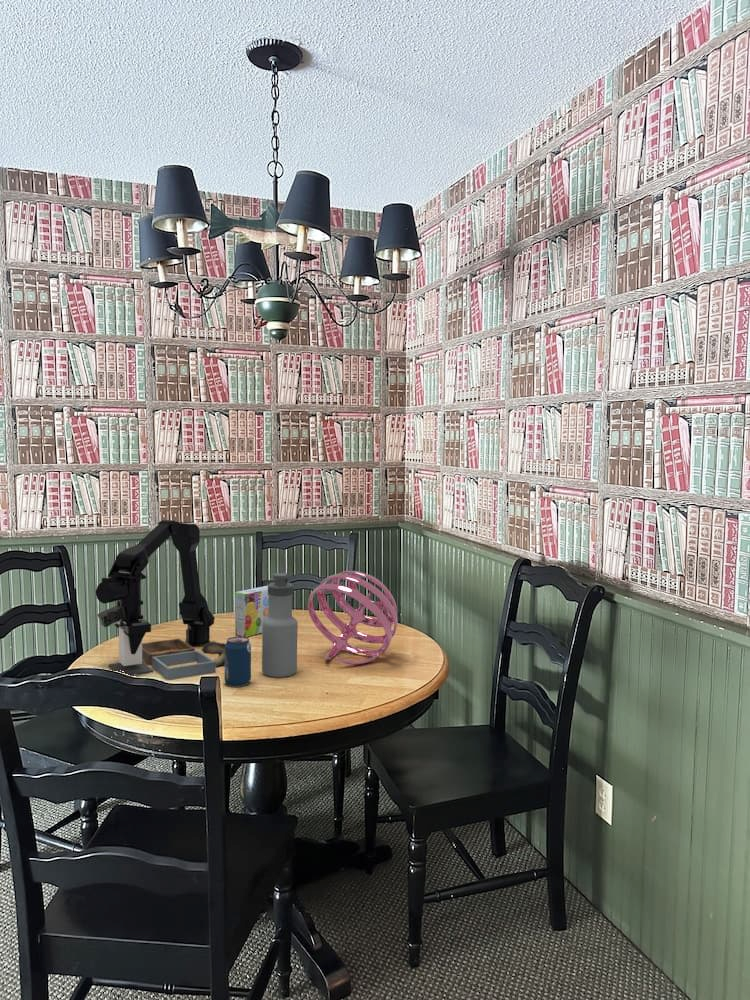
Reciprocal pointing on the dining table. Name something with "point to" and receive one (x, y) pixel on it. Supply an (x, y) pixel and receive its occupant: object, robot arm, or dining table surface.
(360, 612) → the spiral basket
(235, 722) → the dining table surface
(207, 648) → the eagle figurine
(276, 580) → the water bottle
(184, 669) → the frame
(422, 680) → the dining table surface
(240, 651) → the soda can
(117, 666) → the dark grey flat slab
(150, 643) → the frame
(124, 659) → the letter block
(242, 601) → the snack box
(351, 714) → the dining table surface
